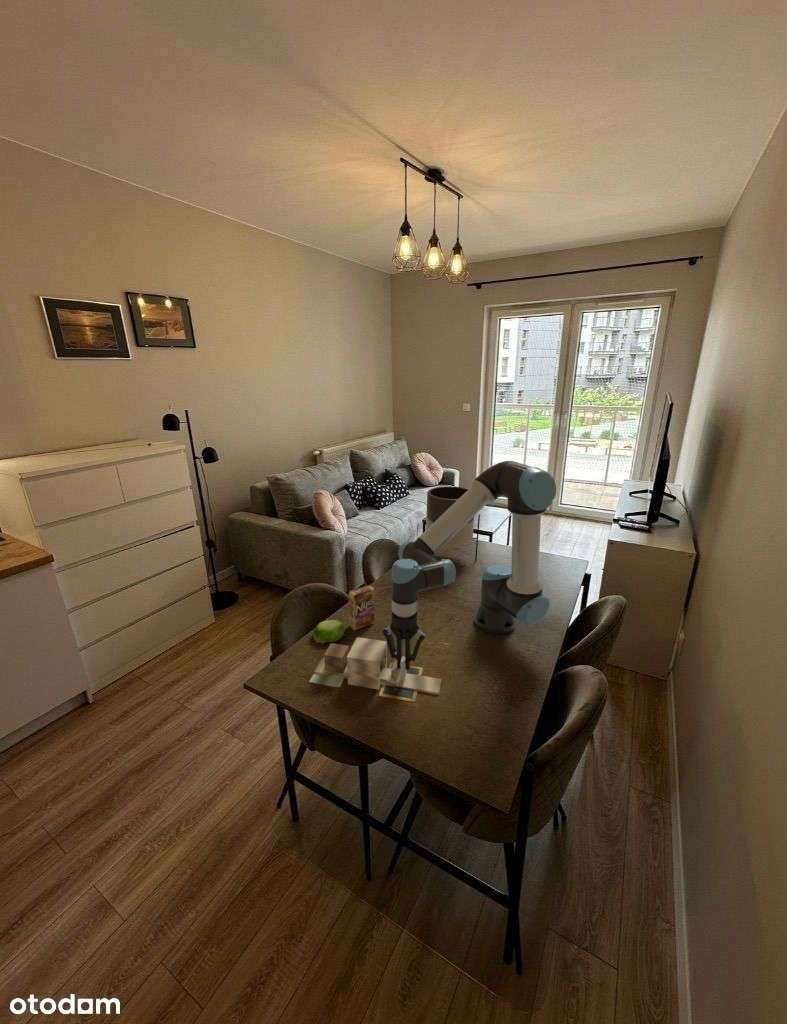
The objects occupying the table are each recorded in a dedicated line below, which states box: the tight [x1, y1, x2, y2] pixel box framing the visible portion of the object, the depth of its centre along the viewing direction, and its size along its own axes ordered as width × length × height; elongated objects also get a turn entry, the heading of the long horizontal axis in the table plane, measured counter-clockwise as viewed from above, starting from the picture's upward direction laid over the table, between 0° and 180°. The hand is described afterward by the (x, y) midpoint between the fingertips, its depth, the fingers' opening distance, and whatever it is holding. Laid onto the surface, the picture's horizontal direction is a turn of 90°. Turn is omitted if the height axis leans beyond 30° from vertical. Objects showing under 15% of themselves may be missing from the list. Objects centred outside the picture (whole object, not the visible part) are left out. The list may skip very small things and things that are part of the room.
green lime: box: [312, 619, 345, 645], centre depth 152 cm, size 12×11×5 cm
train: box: [323, 642, 400, 684], centre depth 131 cm, size 24×6×7 cm, turn 77°
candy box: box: [348, 584, 375, 631], centre depth 156 cm, size 9×4×15 cm, turn 123°
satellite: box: [308, 637, 442, 703], centre depth 130 cm, size 40×15×10 cm, turn 77°
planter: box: [425, 485, 481, 562], centre depth 206 cm, size 26×25×35 cm
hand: (403, 676), depth 129 cm, fingers closed
